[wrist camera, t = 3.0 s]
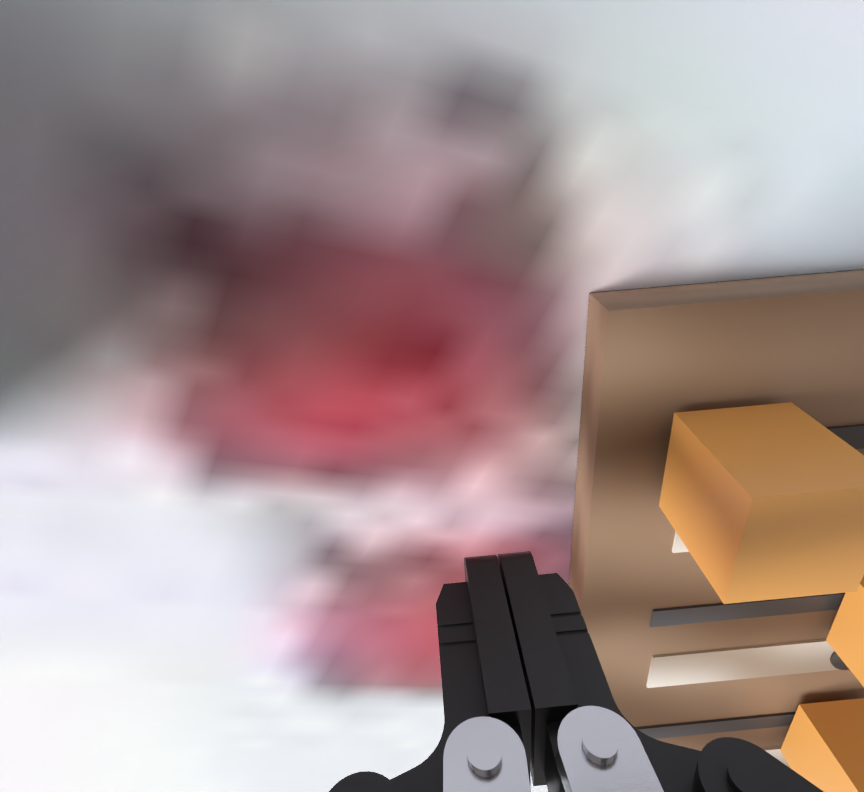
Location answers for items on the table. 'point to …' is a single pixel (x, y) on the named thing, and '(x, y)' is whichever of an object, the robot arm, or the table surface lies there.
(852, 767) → the knob
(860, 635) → the knob middle
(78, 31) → the table surface
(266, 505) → the table surface
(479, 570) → the robot arm
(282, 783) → the table surface
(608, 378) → the switch panel
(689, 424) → the knob
